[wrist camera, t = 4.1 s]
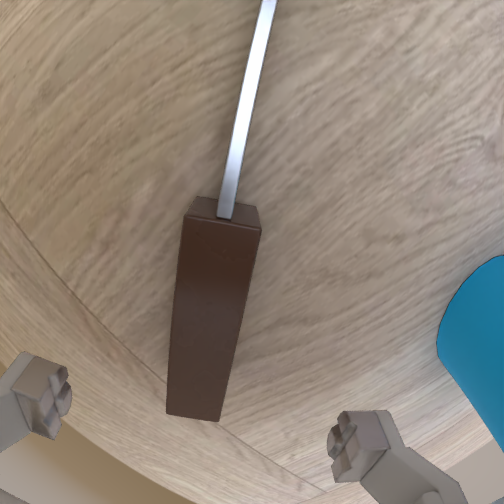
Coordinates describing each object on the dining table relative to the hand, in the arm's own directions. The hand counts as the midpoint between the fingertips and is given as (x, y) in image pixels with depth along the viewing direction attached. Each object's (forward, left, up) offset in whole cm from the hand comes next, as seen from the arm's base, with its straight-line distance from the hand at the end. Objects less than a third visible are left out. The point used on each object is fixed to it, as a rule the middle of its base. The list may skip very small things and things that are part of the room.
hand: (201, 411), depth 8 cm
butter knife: (0, +6, -6) cm, 8 cm away
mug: (+18, +2, -6) cm, 19 cm away
